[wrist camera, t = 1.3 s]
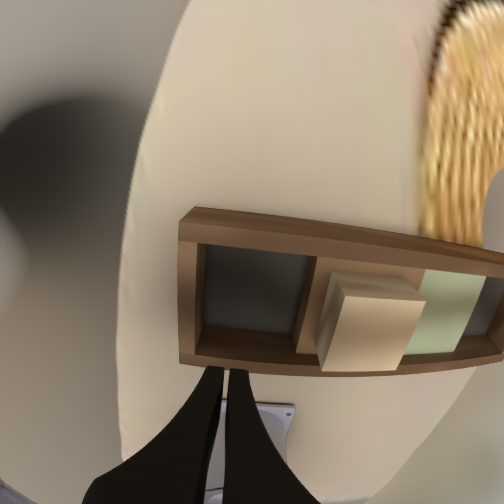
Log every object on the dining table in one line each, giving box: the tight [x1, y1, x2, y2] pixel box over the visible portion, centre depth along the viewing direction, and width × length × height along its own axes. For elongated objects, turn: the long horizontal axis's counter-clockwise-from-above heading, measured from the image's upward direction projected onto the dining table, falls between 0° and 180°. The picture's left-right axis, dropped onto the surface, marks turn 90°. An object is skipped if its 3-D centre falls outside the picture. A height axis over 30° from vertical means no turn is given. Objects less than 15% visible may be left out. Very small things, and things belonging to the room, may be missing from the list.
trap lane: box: [178, 207, 504, 377], centre depth 18 cm, size 9×29×4 cm, turn 84°
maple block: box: [314, 271, 426, 372], centre depth 16 cm, size 5×5×3 cm
